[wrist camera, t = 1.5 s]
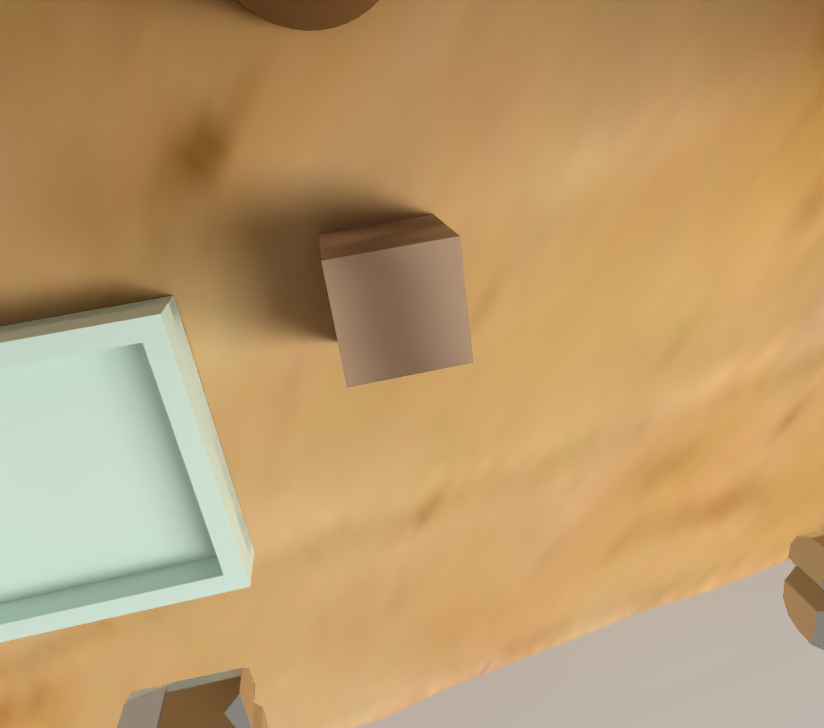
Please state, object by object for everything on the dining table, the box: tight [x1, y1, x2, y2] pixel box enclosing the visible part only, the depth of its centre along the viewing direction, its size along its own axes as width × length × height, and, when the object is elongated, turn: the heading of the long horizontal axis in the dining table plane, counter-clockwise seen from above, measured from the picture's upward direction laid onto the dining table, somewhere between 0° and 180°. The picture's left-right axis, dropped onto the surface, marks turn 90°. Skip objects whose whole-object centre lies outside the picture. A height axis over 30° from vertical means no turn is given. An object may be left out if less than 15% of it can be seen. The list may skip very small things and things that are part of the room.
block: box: [318, 214, 473, 387], centre depth 25 cm, size 5×5×5 cm
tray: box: [0, 296, 254, 642], centre depth 27 cm, size 14×14×2 cm
